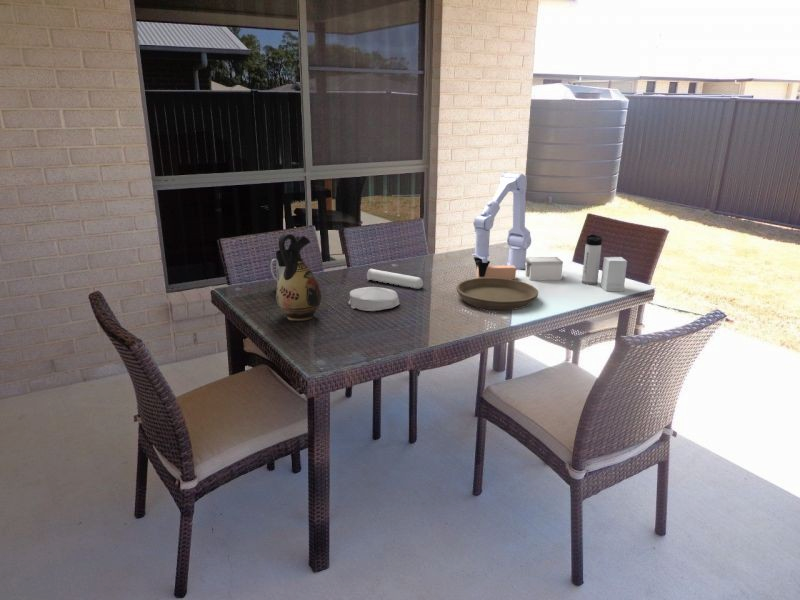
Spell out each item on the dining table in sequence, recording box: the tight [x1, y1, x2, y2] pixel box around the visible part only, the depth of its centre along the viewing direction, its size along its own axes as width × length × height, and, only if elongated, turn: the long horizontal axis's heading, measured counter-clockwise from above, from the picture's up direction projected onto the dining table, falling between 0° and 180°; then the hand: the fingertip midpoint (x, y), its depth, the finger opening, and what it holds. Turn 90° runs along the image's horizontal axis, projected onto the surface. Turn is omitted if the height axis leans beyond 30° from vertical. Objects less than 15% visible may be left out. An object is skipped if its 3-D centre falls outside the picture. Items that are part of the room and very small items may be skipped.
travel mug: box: [581, 234, 603, 286], centre depth 252 cm, size 6×7×20 cm
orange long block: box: [476, 265, 517, 280], centre depth 260 cm, size 4×16×5 cm, turn 94°
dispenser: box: [524, 256, 564, 281], centre depth 261 cm, size 8×15×8 cm, turn 94°
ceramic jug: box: [275, 232, 322, 321], centre depth 207 cm, size 17×15×30 cm
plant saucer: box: [456, 277, 539, 311], centre depth 232 cm, size 31×31×5 cm
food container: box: [347, 286, 400, 312], centre depth 226 cm, size 20×20×7 cm
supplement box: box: [600, 256, 628, 292], centre depth 245 cm, size 7×7×13 cm
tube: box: [366, 268, 424, 290], centre depth 250 cm, size 5×5×25 cm
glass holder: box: [270, 249, 291, 284], centre depth 241 cm, size 9×14×15 cm, turn 155°
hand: (480, 275), depth 260 cm, fingers closed on orange long block, 4 cm apart
